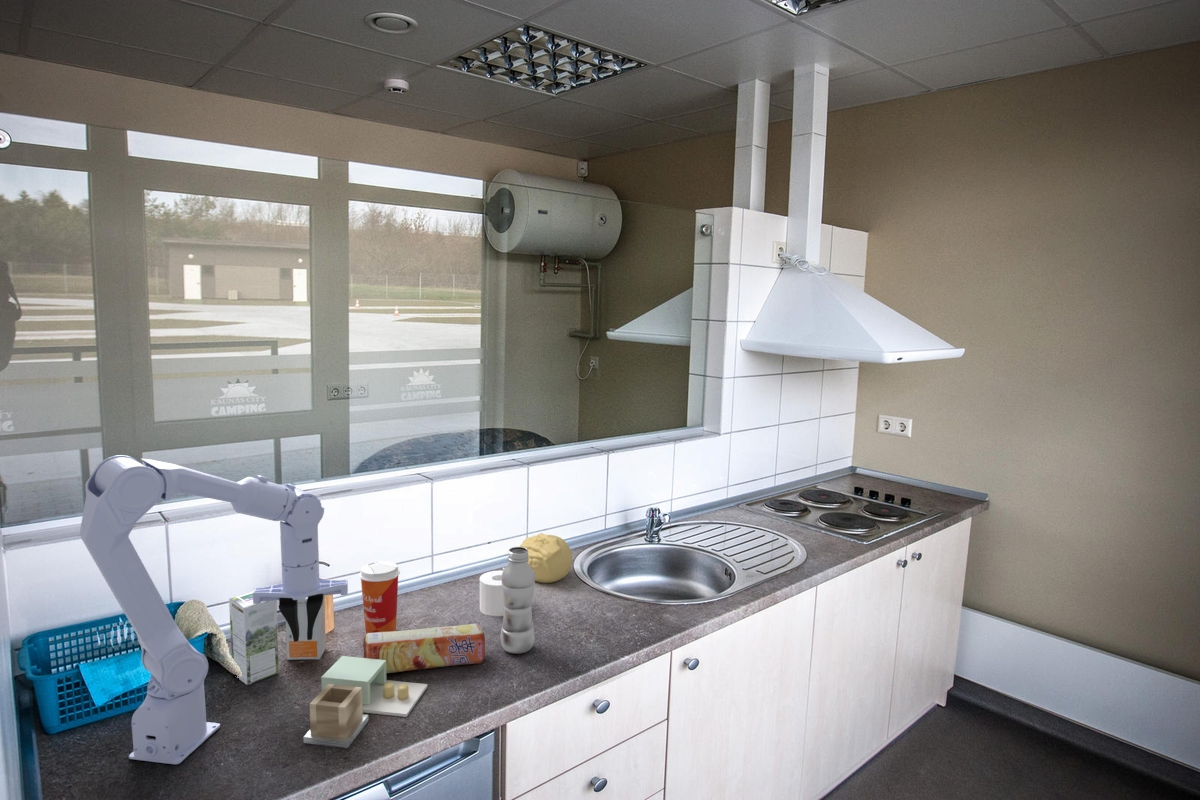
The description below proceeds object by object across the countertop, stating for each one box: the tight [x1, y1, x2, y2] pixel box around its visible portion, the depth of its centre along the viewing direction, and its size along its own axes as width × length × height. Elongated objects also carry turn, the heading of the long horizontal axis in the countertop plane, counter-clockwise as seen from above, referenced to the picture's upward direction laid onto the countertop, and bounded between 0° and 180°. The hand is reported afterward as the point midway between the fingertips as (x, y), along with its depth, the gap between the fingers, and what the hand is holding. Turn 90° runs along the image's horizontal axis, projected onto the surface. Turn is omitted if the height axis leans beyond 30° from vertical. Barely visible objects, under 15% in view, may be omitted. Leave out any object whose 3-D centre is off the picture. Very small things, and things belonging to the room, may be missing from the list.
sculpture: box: [519, 533, 573, 584], centre depth 172 cm, size 12×12×11 cm
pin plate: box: [302, 713, 370, 749], centre depth 111 cm, size 7×7×4 cm
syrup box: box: [228, 591, 280, 686], centre depth 126 cm, size 6×6×14 cm
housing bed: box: [362, 679, 428, 718], centre depth 121 cm, size 9×15×2 cm, turn 82°
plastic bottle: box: [499, 546, 536, 655], centre depth 136 cm, size 6×7×20 cm
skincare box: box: [285, 596, 327, 661], centre depth 133 cm, size 6×4×12 cm
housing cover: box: [321, 655, 387, 704], centre depth 121 cm, size 7×8×4 cm
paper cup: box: [358, 560, 401, 635], centre depth 142 cm, size 8×8×14 cm
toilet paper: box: [479, 567, 506, 617], centre depth 157 cm, size 8×11×7 cm
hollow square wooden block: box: [309, 684, 364, 738], centre depth 111 cm, size 6×6×5 cm
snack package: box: [362, 623, 486, 674], centre depth 131 cm, size 21×7×7 cm, turn 108°
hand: (303, 637), depth 121 cm, fingers closed
